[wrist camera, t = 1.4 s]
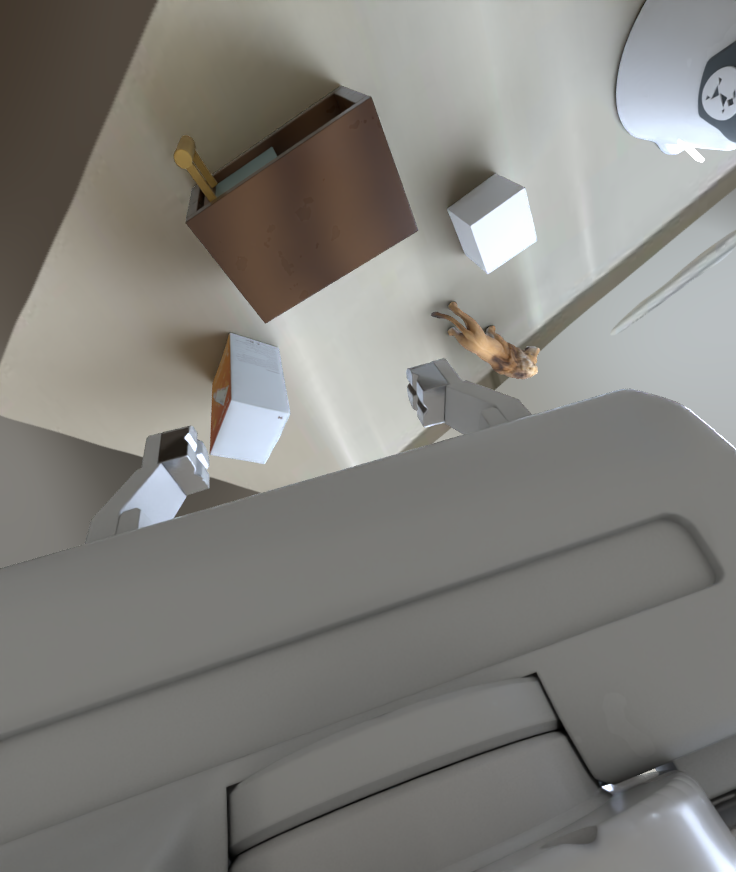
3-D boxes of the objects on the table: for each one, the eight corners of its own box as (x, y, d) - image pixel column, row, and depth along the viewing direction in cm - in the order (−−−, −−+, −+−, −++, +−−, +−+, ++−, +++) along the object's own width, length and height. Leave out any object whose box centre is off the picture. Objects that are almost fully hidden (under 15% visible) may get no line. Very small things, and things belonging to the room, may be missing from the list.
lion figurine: (519, 326, 58) (555, 360, 51) (497, 356, 61) (528, 392, 54) (439, 294, 51) (469, 329, 45) (419, 330, 54) (444, 368, 48)
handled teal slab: (242, 91, 32) (246, 100, 27) (274, 151, 35) (283, 170, 30) (172, 141, 33) (163, 159, 28) (210, 195, 36) (208, 220, 31)
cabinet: (341, 84, 34) (371, 96, 27) (386, 199, 41) (418, 230, 35) (191, 188, 37) (184, 222, 30) (258, 279, 44) (265, 324, 37)
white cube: (509, 222, 47) (537, 240, 42) (464, 254, 48) (487, 274, 44) (495, 172, 42) (525, 187, 38) (446, 208, 44) (470, 226, 40)
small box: (228, 330, 47) (230, 398, 38) (280, 346, 50) (292, 413, 41) (210, 383, 51) (208, 456, 42) (259, 395, 54) (266, 465, 45)
